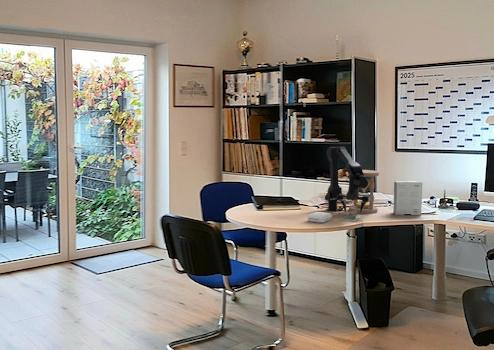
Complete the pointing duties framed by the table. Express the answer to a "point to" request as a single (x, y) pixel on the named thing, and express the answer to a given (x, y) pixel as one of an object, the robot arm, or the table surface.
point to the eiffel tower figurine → (445, 204)
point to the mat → (354, 219)
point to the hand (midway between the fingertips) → (353, 212)
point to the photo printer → (319, 217)
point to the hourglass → (369, 206)
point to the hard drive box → (407, 197)
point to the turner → (351, 215)
